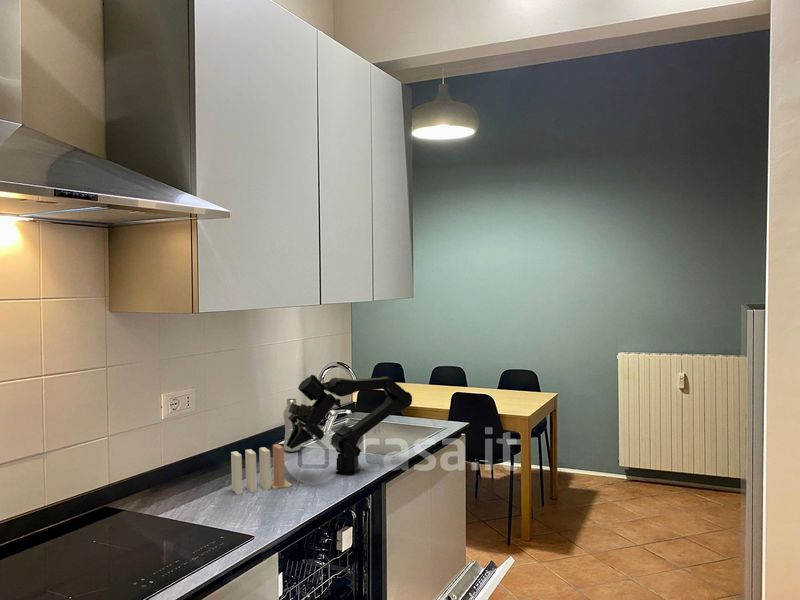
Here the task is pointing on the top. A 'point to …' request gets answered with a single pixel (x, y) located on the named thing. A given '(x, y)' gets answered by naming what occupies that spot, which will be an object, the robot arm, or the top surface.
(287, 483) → the birch pad
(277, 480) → the terracotta domino
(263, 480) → the ivory domino
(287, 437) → the plastic bottle
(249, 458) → the ivory domino
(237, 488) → the ivory domino
